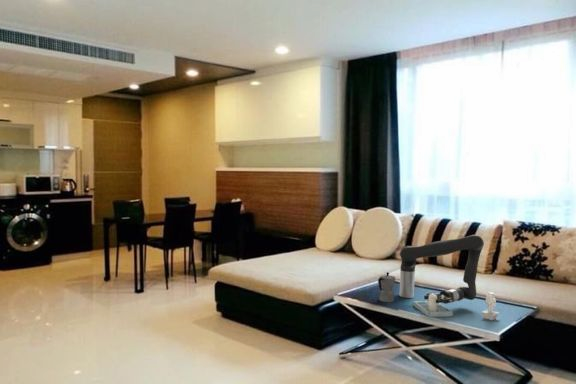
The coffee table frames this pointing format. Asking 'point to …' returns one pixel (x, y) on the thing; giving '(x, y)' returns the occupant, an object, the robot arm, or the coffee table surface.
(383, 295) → the coffeepot
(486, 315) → the figurine
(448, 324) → the coffee table surface
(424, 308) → the muffin tray
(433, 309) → the white tall cylinder
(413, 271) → the robot arm
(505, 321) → the coffee table surface
